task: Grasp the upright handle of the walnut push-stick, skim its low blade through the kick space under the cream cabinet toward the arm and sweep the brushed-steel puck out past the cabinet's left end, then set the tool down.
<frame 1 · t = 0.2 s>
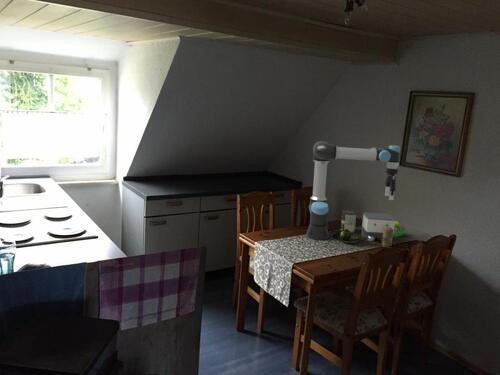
hand: (388, 197, 295), 28 cm above the table, fingers open, 13 cm apart
clear glass jar: (347, 230, 309), on the table
cabinet: (375, 237, 295), on the table
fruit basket: (395, 235, 304), on the table
steel puck: (370, 240, 289), on the table
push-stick: (386, 246, 278), on the table
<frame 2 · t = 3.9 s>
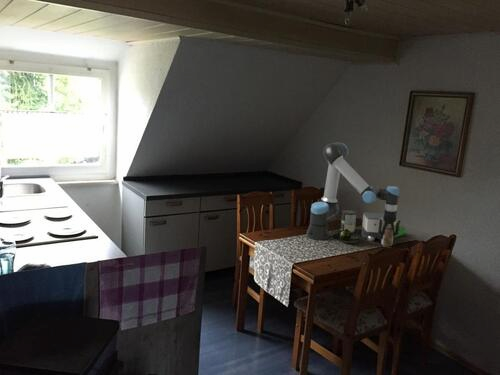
hand: (386, 244, 278), 1 cm above the table, fingers closed on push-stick, 5 cm apart
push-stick: (386, 246, 278), on the table, touching gripper
everything else where it was.
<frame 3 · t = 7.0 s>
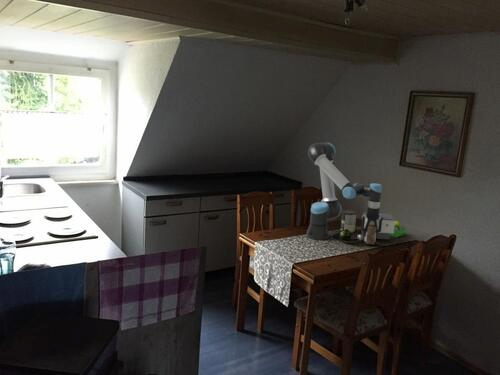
hand: (369, 241, 278), 3 cm above the table, fingers closed on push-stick, 5 cm apart
steel puck: (360, 239, 289), on the table
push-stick: (369, 242, 278), point 1 cm above the table, touching gripper
everything else where it was.
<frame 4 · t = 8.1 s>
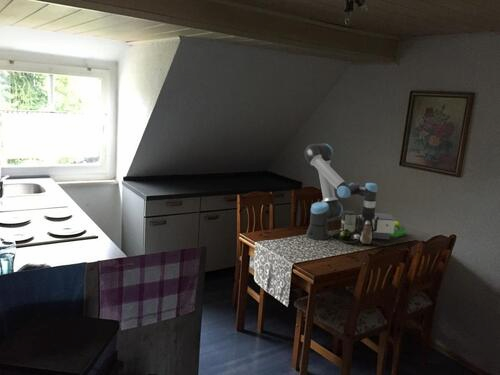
hand: (365, 240, 278), 3 cm above the table, fingers closed on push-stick, 5 cm apart
steel puck: (356, 239, 289), on the table, touching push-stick
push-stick: (365, 242, 278), point 1 cm above the table, touching gripper, steel puck
everything else where it was.
when the fingers open (2 cm above the table, at t = 9.5 s): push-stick stays where it is, on the table.
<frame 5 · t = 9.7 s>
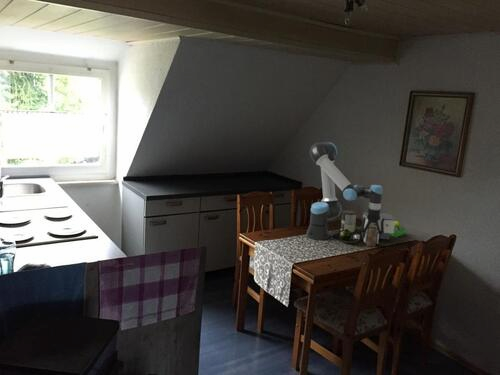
hand: (370, 242, 278), 2 cm above the table, fingers open, 7 cm apart
steel puck: (356, 239, 289), on the table
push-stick: (370, 244, 278), on the table
everything else where it was.
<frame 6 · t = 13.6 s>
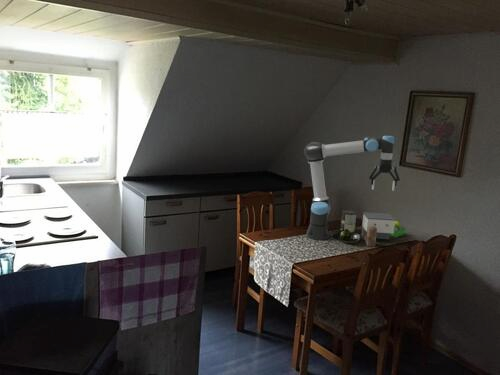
hand: (382, 190, 286), 35 cm above the table, fingers open, 13 cm apart
nothing on the table moved.
at the end: steel puck inside the target area (6.7 cm from its centre), on the table; steel puck moved 9.8 cm from its start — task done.
